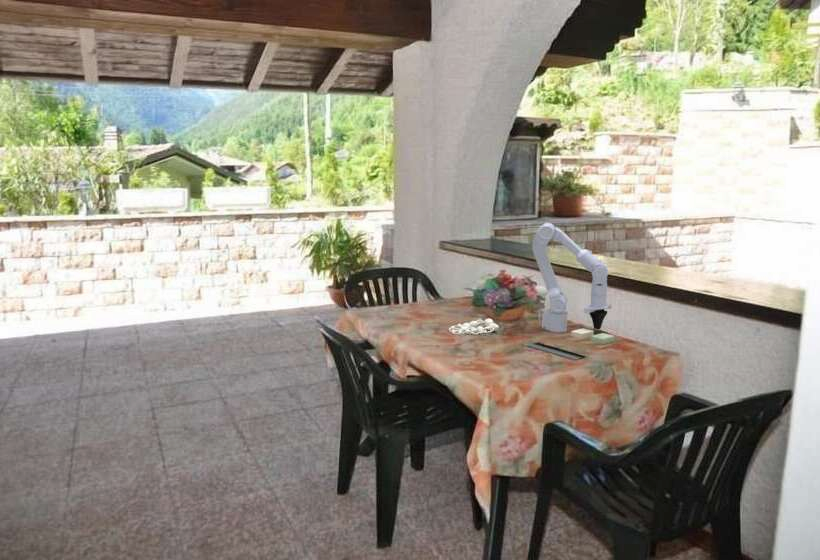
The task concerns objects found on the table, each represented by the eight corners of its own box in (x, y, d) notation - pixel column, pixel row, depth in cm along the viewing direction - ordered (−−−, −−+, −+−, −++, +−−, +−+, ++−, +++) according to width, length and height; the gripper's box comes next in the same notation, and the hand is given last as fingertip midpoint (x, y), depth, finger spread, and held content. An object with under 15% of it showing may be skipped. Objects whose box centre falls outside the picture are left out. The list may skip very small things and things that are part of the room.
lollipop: (535, 321, 255) (536, 287, 252) (529, 318, 260) (530, 285, 258) (548, 320, 256) (550, 286, 254) (542, 317, 262) (543, 284, 259)
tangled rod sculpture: (454, 340, 231) (454, 331, 230) (445, 328, 245) (445, 319, 244) (502, 336, 234) (502, 327, 233) (491, 325, 248) (491, 315, 247)
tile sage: (590, 341, 218) (591, 336, 218) (602, 338, 223) (602, 333, 222) (602, 344, 214) (602, 339, 214) (613, 341, 219) (614, 335, 218)
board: (555, 340, 226) (556, 336, 226) (579, 334, 234) (579, 330, 234) (600, 352, 210) (600, 348, 210) (623, 345, 218) (623, 341, 218)
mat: (526, 346, 218) (526, 345, 218) (552, 339, 226) (552, 338, 226) (575, 360, 201) (575, 359, 200) (600, 353, 209) (600, 352, 209)
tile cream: (571, 336, 226) (571, 331, 225) (582, 333, 230) (582, 328, 229) (581, 339, 222) (582, 333, 221) (593, 336, 226) (593, 330, 225)
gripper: (595, 298, 221) (594, 333, 223) (619, 293, 229) (617, 327, 232) (580, 295, 227) (578, 330, 229) (603, 291, 235) (602, 324, 237)
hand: (597, 328), depth 231 cm, fingers closed
